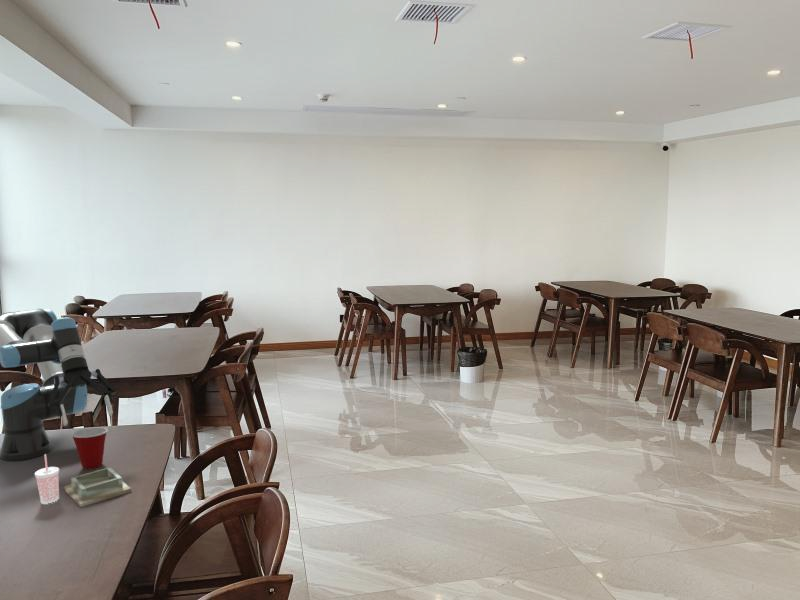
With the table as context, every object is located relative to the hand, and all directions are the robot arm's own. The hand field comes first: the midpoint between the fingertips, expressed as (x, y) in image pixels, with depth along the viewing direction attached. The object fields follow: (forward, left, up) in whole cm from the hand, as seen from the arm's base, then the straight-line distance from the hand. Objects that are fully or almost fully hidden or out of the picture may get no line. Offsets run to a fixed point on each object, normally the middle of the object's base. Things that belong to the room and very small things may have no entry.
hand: (89, 419), depth 200 cm
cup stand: (+21, -5, -16) cm, 27 cm away
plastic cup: (0, 0, -16) cm, 16 cm away
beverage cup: (+18, -17, -16) cm, 29 cm away
